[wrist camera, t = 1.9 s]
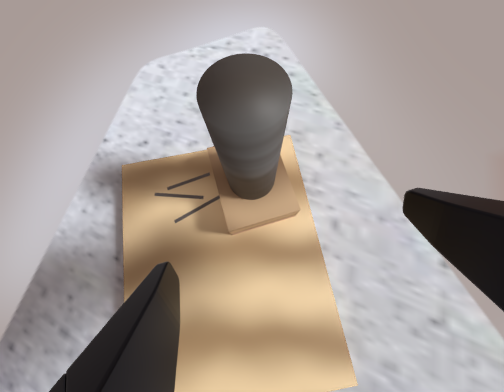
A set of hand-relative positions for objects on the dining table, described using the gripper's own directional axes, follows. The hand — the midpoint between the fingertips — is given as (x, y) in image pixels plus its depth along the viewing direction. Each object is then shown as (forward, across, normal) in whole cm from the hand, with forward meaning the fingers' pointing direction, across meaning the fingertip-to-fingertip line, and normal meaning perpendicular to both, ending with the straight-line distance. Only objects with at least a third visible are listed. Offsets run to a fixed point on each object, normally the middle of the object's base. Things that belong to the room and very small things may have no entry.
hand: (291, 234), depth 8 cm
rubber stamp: (+11, 0, +3) cm, 11 cm away
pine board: (+8, +4, +8) cm, 12 cm away
